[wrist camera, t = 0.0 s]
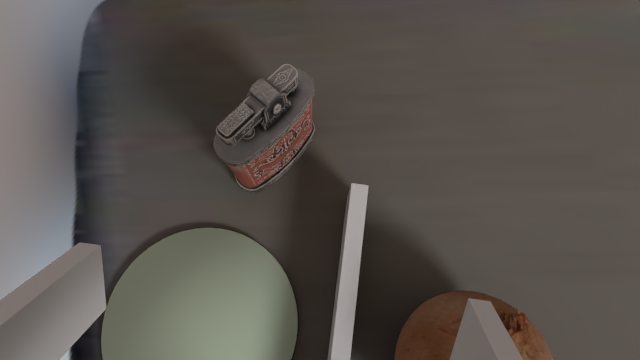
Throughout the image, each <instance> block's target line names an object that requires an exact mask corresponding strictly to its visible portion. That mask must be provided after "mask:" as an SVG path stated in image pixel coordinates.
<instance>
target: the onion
mask: <svg viewBox="0 0 640 360" xmlns="http://www.w3.org/2000/svg"><path fill="white" fill-rule="evenodd" d="M468 298H471V299H478V300H485V301H491V303H492V305H493V307H494V309H495V310H496V312H497V314H498V316H499V317H500V319H501V321H502V323H503V325H504V326H505V328H506V330H507V332H508V333H509V335H510V337H511V339H512V341H513V342H514V344H515V346H516V348H517V350H518V351H519V353H520V355H521V357H522V358H523V360H554V359H553V356H552V354H551V352H550V349H549V347H548V345H547V344H546V342H545V340H544V338H543V337H542V335H541V334H540V333H539V331H538V330H537V329H536V328H535V326H534V325H533V324H532V323H531V322H530V321H529V320H528V318H527V316H526V315H525V314H524V313H521V312H520V311H519V310H518V309H515V308H514V307H512V306H511V305H509V304H507V303H505V302H503V301H501V300H499V299H497V298H494V297H492V296H489V295H486V294H483V293H478V292H472V291H454V292H448V293H443V294H440V295H438V296H435V297H432V298H430V299H429V300H427V301H425V302H424V303H422V304H421V305H420V306H419V307H418V308H417V309H416V310H415V311H414V312H412V314H411V315H410V317H409V318H408V320H407V321H406V323H405V324H404V326H403V327H402V329H401V333H400V335H399V338H398V341H397V345H396V350H395V360H450V357H451V354H452V350H453V347H454V344H455V341H456V337H457V334H458V331H459V327H460V324H461V321H462V318H463V314H464V311H465V308H466V304H467V301H468Z"/></svg>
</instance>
